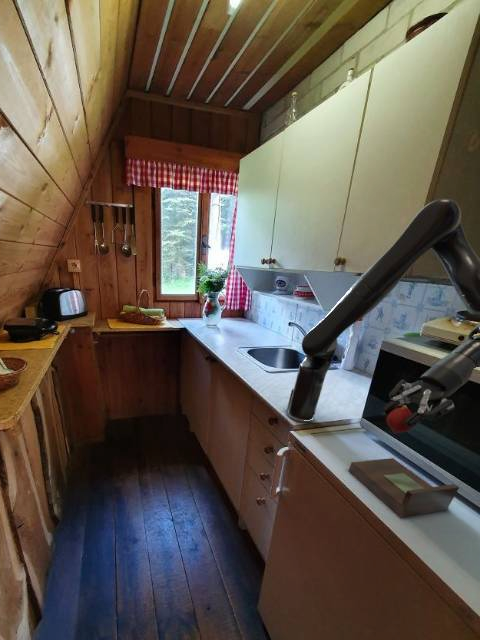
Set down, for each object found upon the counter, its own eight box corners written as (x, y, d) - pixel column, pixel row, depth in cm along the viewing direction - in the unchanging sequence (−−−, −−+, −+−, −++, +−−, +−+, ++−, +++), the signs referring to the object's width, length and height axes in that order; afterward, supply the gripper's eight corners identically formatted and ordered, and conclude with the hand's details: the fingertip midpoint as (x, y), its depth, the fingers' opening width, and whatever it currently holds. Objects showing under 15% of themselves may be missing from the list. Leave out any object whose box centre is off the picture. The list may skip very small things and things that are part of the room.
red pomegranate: (400, 428, 82) (411, 402, 79) (413, 440, 77) (425, 412, 74) (378, 425, 83) (388, 399, 80) (389, 437, 77) (400, 409, 74)
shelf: (348, 470, 86) (355, 450, 83) (389, 466, 90) (398, 446, 88) (400, 517, 71) (412, 494, 68) (447, 509, 75) (459, 487, 73)
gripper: (417, 355, 81) (367, 397, 82) (476, 375, 68) (417, 424, 70) (424, 374, 85) (377, 414, 86) (482, 396, 72) (425, 443, 73)
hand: (395, 418), depth 78 cm, fingers closed on red pomegranate, 5 cm apart
